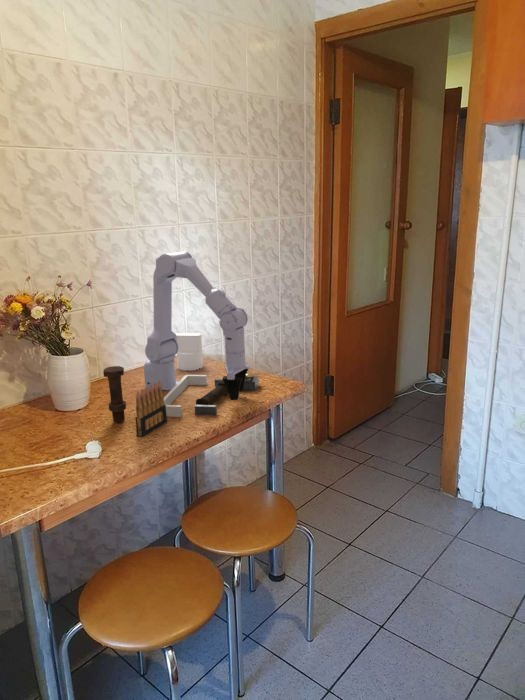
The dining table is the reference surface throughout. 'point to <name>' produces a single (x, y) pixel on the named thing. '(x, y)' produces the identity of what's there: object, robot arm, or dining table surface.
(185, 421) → the dining table surface
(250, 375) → the release plunger
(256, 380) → the tool holder
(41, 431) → the dining table surface
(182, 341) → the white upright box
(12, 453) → the dining table surface
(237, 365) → the robot arm
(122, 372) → the bolt
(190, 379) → the white u-shaped bracket
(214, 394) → the hand tool
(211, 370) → the dining table surface
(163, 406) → the ammunition clip
